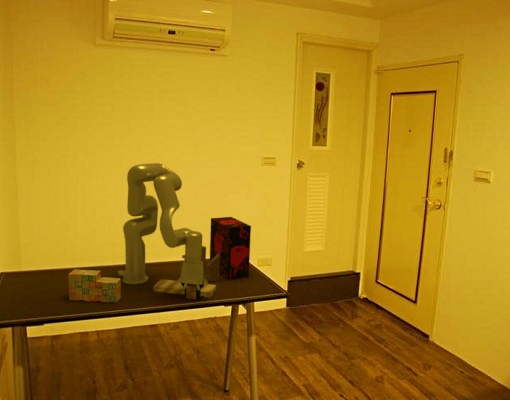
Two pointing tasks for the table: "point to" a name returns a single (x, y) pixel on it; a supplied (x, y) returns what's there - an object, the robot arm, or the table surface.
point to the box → (231, 246)
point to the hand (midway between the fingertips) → (192, 296)
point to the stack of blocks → (93, 286)
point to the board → (181, 288)
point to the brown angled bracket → (211, 266)
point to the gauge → (191, 291)
